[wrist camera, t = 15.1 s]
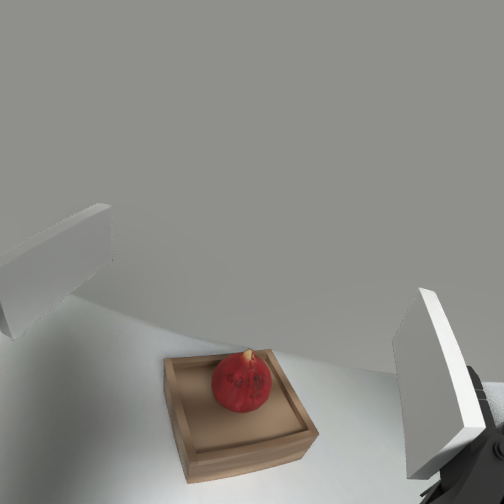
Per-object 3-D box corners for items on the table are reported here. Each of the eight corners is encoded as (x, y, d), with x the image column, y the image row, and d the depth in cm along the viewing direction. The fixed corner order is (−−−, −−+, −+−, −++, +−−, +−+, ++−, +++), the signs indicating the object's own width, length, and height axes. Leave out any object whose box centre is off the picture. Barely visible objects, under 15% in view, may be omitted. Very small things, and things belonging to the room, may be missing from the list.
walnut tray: (301, 458, 30) (319, 433, 27) (187, 484, 25) (189, 462, 22) (260, 379, 40) (270, 349, 38) (163, 390, 35) (164, 358, 33)
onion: (272, 418, 29) (294, 369, 26) (220, 432, 27) (232, 384, 23) (249, 379, 34) (264, 327, 30) (200, 388, 31) (208, 335, 28)
